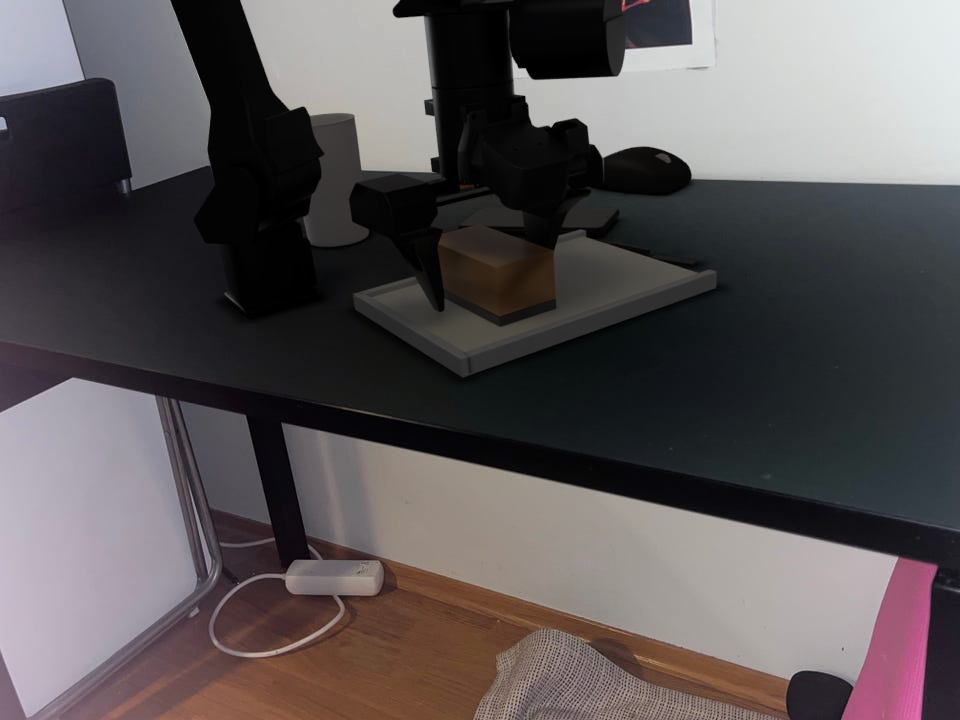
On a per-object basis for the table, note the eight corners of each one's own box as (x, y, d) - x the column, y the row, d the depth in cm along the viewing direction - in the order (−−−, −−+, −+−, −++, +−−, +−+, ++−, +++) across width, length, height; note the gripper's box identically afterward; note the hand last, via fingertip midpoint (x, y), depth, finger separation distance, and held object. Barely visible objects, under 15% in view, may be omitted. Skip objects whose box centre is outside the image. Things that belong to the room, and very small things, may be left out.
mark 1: (647, 249, 74) (650, 248, 75) (610, 242, 77) (613, 241, 77) (647, 261, 75) (650, 259, 75) (610, 253, 78) (613, 252, 78)
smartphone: (481, 206, 92) (620, 207, 87) (482, 215, 93) (620, 216, 87) (455, 225, 87) (602, 227, 81) (456, 234, 87) (603, 237, 81)
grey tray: (462, 378, 57) (460, 358, 56) (354, 309, 70) (352, 293, 70) (716, 288, 68) (717, 271, 67) (581, 243, 81) (581, 229, 80)
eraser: (500, 327, 62) (495, 267, 60) (431, 292, 70) (425, 237, 68) (557, 308, 64) (553, 250, 62) (483, 276, 72) (479, 223, 70)
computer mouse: (607, 173, 105) (606, 139, 103) (698, 181, 98) (699, 145, 96) (572, 188, 100) (570, 153, 98) (666, 197, 93) (666, 160, 91)
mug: (385, 231, 90) (368, 113, 85) (344, 250, 85) (324, 126, 80) (311, 224, 95) (291, 112, 90) (268, 242, 90) (245, 125, 85)
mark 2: (698, 260, 73) (698, 265, 73) (656, 254, 75) (656, 258, 76) (692, 264, 72) (692, 268, 73) (650, 257, 75) (650, 262, 75)
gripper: (408, 115, 49) (437, 363, 56) (654, 69, 58) (655, 289, 64) (330, 100, 58) (363, 316, 65) (554, 62, 67) (563, 256, 73)
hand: (491, 294), depth 67 cm, fingers open, 9 cm apart
